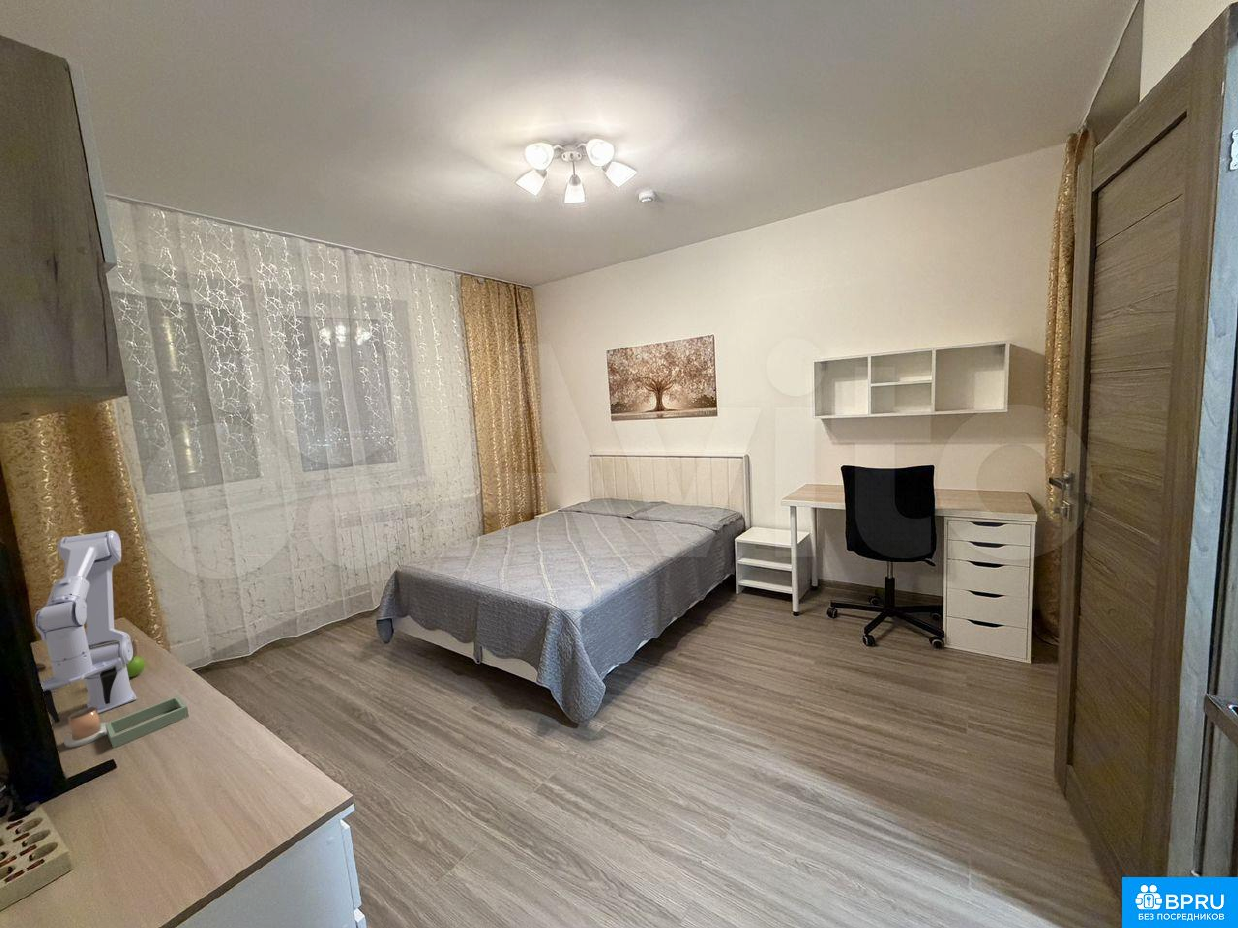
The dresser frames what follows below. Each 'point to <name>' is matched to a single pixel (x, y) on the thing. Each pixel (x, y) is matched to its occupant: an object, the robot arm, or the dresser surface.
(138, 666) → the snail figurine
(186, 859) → the dresser surface
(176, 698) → the box
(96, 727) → the terracotta pot
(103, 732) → the pale grey saucer
